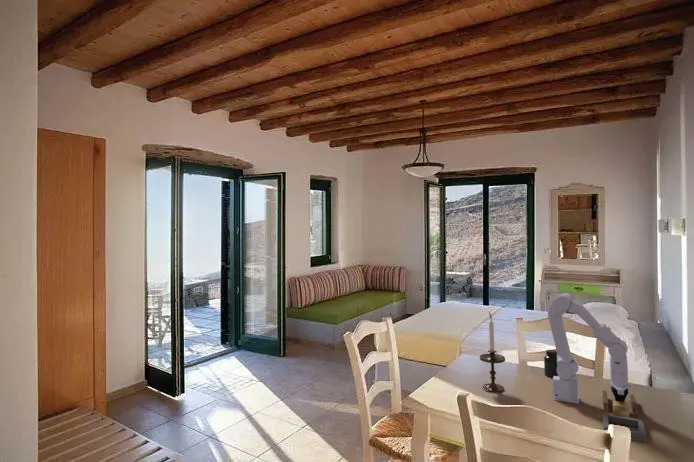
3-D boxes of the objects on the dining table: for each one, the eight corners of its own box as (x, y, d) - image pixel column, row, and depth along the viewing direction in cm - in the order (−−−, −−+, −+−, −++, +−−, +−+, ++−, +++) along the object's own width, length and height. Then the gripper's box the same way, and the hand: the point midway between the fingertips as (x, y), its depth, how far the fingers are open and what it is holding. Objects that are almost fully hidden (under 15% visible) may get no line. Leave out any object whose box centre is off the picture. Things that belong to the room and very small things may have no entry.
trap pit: (604, 434, 145) (604, 426, 145) (603, 420, 155) (602, 413, 155) (646, 442, 139) (646, 434, 139) (642, 426, 149) (642, 420, 149)
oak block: (613, 415, 159) (612, 405, 159) (612, 410, 163) (612, 400, 163) (629, 418, 156) (628, 407, 156) (628, 413, 160) (628, 402, 160)
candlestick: (479, 392, 185) (477, 313, 185) (481, 383, 195) (479, 309, 195) (505, 394, 181) (503, 314, 181) (506, 386, 191) (504, 310, 191)
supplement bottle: (561, 378, 199) (561, 353, 199) (546, 377, 200) (545, 352, 200) (557, 373, 206) (556, 349, 206) (542, 372, 207) (542, 348, 207)
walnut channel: (603, 410, 163) (603, 402, 163) (602, 397, 175) (602, 390, 175) (637, 415, 158) (637, 407, 158) (634, 402, 170) (634, 394, 170)
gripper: (633, 379, 155) (634, 416, 154) (629, 367, 167) (630, 401, 167) (610, 376, 158) (611, 412, 158) (608, 365, 171) (609, 398, 171)
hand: (620, 406), depth 163 cm, fingers closed
